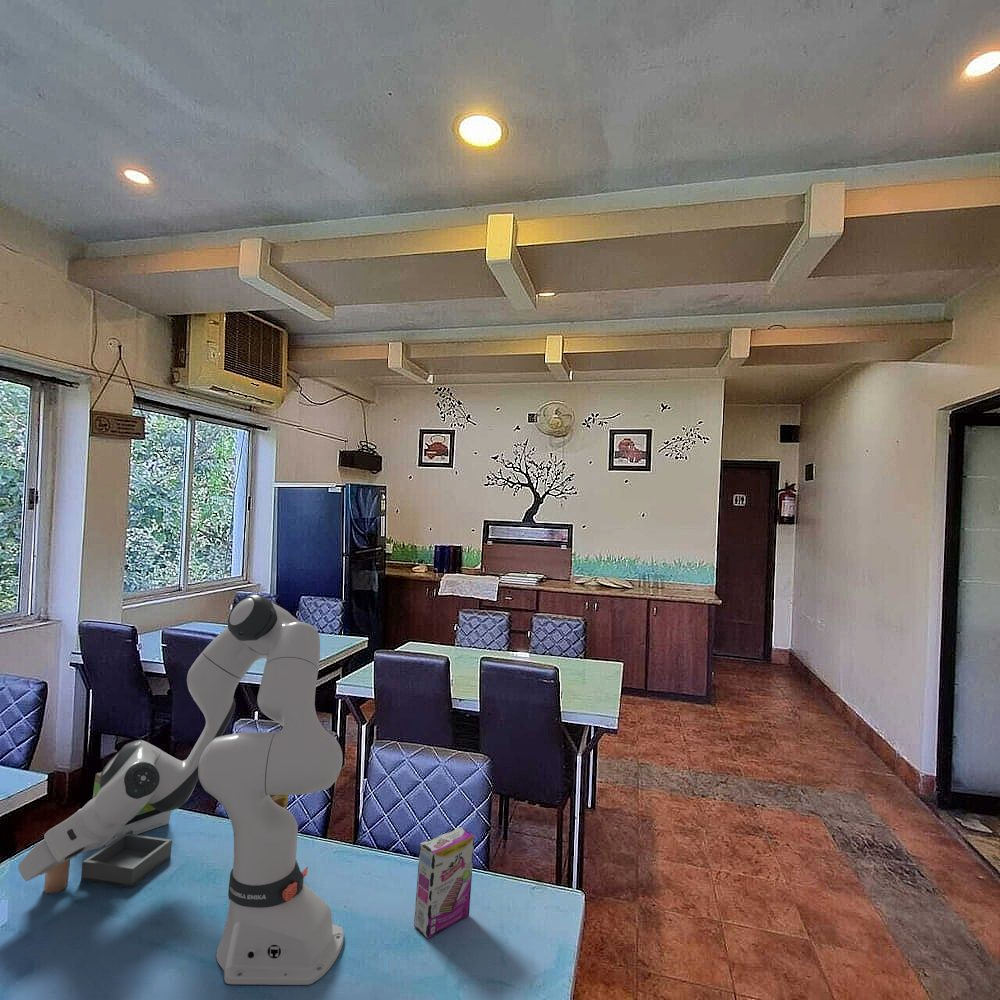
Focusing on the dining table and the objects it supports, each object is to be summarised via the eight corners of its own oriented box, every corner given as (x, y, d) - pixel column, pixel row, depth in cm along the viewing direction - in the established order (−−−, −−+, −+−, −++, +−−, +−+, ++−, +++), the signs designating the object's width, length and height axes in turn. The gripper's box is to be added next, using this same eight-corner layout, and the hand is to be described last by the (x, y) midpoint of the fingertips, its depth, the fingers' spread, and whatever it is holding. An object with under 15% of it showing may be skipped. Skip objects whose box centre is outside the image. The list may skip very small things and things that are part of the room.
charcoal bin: (170, 857, 134) (172, 839, 134) (131, 888, 122) (132, 869, 122) (124, 850, 136) (125, 833, 136) (80, 880, 124) (82, 861, 124)
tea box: (106, 848, 136) (112, 784, 137) (87, 834, 142) (93, 773, 143) (171, 823, 149) (176, 765, 150) (151, 811, 154) (156, 755, 155)
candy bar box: (428, 940, 111) (433, 853, 112) (413, 927, 115) (418, 842, 116) (471, 916, 119) (475, 834, 120) (455, 904, 123) (460, 825, 124)
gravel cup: (72, 883, 123) (76, 839, 123) (55, 894, 119) (60, 849, 119) (56, 880, 123) (60, 837, 124) (38, 891, 120) (43, 847, 120)
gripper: (132, 790, 130) (95, 826, 132) (38, 834, 111) (-4, 876, 113) (146, 814, 129) (108, 850, 131) (54, 863, 109) (11, 905, 111)
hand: (56, 862), depth 122 cm, fingers open, 4 cm apart
